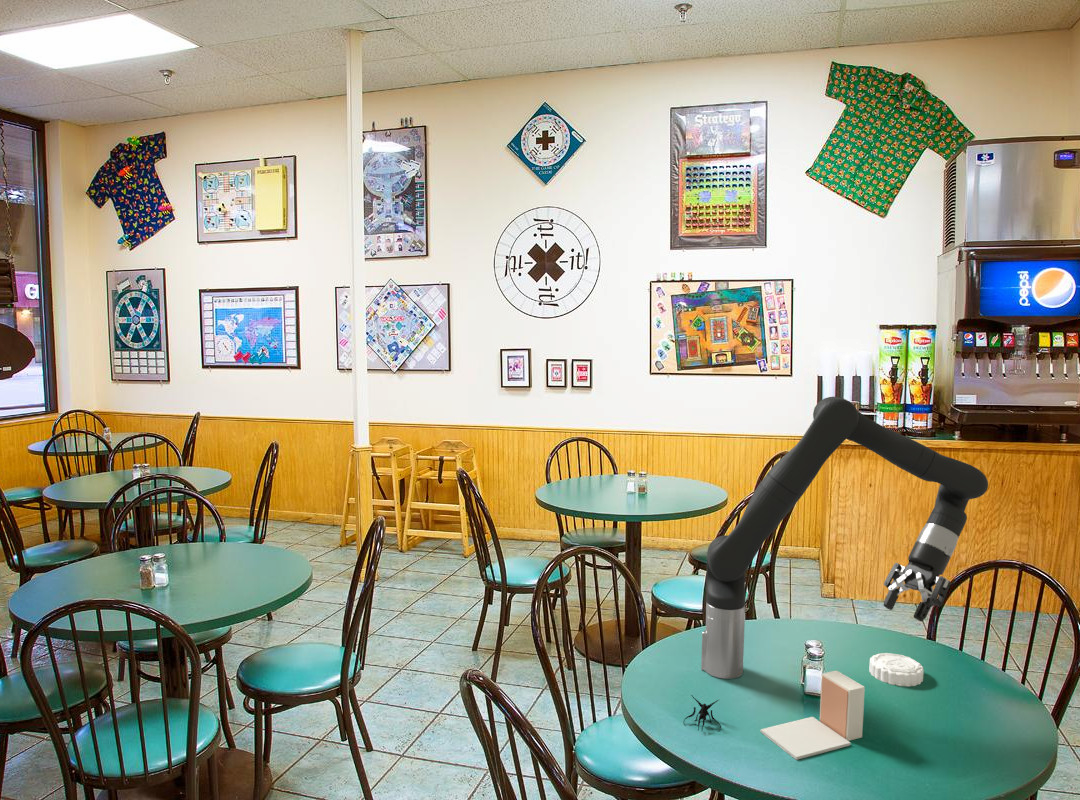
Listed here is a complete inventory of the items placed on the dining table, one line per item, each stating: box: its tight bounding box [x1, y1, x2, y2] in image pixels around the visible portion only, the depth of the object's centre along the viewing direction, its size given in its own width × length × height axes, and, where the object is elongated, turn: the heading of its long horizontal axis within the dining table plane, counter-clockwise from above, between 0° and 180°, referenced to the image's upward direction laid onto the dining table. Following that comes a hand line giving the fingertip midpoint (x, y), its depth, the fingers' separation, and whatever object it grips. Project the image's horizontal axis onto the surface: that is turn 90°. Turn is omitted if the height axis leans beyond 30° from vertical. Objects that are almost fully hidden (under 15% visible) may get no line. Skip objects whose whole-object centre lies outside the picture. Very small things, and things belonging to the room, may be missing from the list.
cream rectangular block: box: [819, 670, 866, 742], centre depth 163 cm, size 8×4×11 cm, turn 22°
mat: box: [760, 716, 851, 761], centre depth 160 cm, size 11×14×1 cm
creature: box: [683, 694, 722, 732], centre depth 165 cm, size 8×5×8 cm
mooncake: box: [868, 652, 924, 687], centre depth 189 cm, size 12×12×4 cm
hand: (902, 613), depth 169 cm, fingers open, 8 cm apart
